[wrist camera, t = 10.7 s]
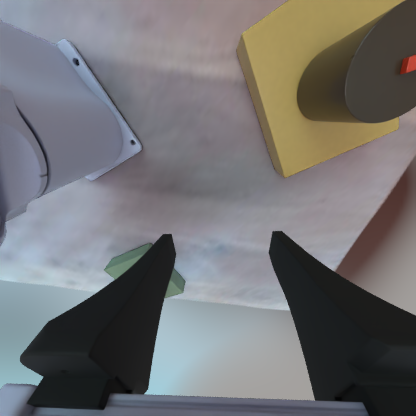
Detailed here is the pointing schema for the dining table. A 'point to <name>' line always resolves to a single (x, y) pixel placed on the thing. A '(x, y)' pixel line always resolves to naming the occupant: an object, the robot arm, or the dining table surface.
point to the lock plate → (291, 74)
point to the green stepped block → (128, 259)
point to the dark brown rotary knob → (365, 72)
